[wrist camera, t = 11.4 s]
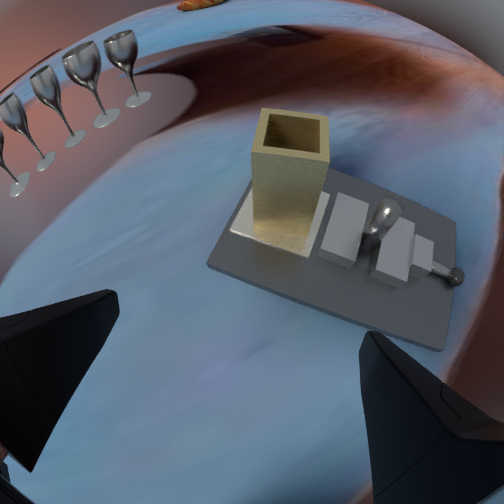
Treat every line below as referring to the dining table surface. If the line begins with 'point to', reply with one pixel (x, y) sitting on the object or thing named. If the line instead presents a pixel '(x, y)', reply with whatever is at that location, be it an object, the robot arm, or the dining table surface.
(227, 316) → the dining table surface
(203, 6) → the croissant
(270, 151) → the sleeve
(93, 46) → the goblet set
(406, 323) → the grey base plate
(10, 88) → the dining table surface
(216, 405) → the dining table surface
